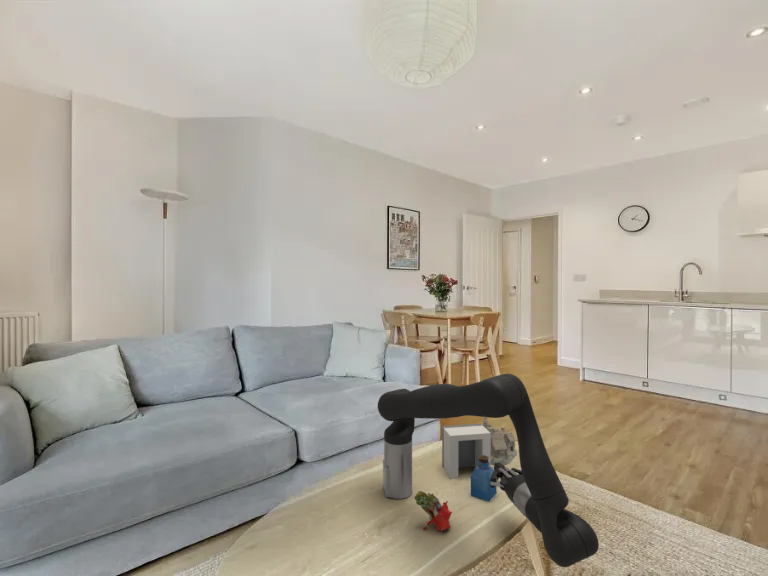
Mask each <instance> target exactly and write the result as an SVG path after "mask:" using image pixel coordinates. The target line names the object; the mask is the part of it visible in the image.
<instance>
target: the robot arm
mask: <svg viewBox="0 0 768 576" xmlns="http://www.w3.org/2000/svg"><path fill="white" fill-rule="evenodd" d="M377 411H378V414H379V415H380V416H381V417H382V419H384V420H385V421H388V422H391V423H390V425H389V426H387V427H386V428H385V429H384V432H383V460H382V478H383V479H382V488H383V493H384V496H385V498H391V499H395V500H397V499H398V500H400V499H402V500H403V499H406V498H409V497H410V496H411V495H412V494H413V435H414V432H415V422H416V419H426V420H427V419H432V420H433V419H437V420H438V419H439V420H441V419H450V418H451V419H452V418H460V417H466V416H470V417H471V416H472V417H482V418H483V417H486V418H490V419H499V418H504V417H507V416H508V417H509V419H510V420H511V422H512V425H513V427H514V430H515V433H516V438H517V444H518V454H519V455H518V456H519V465H520V468H521V469H519V468H515V467H512V468H511V469H510V468H509V467H506V466H505V465H503V464H501V463H500V462H499V463H495V465H493V470H494V471H493V473H492V475H491V477H490V487H491V488H495V486H496V487H497V488H500V490H502V491H503V492H504V493H505V494H506V496H507V498H508V499H509V500H510V502H511V503H512V504H513V505H514V507H516V508H517V510H518V511H519V512H520V513H521V514H522V515H523V516H524V517H525V518H527V520H528V521H529V522H530V523H531V524H532V525H533V526H534V527H535V528H536V530H537V531H539V532H540V533H541V536H542V537H541V538H542V541H543V546H544V548H545V551H546V554H547V555H548V556H549V558H550V559H551V560H552V562H553V563H554V564H555V565H557V566H558V567H560V568H569V567H571V566H573V565H575V564H577V563H579V562H581V561H583V560H586V559H588V558H590V557H592V556H594V555H596V554H597V552H598V551H599V546H600V543H599V538H598V535H597V533H596V531H595V530H594V529H593V527H592V526H591V525H590V524H589V523H588V522H587V521H586V520H585V519H584V518H582V517H581V516H580V515H578V514H576V513H574V512H572V511H569V510H568V509H566V508H567V507H568V505H569V503H570V501H569V497H568V495H567V492H566V490H565V489H564V486H563V484H562V482H561V480H560V478H559V476H558V474H557V471H556V470H555V469H556V468H554V467H555V466H554V465H553V463H552V460H551V458H550V455H549V453H548V451H547V449H546V445H545V443H544V440H543V437H542V434H541V431H540V427H539V424H538V421H537V419H536V416H535V413H534V410H533V406H532V403H531V399H530V397H529V394H528V391H527V388H526V386H525V384H524V383H523V381H522V380H521V379H520V378H519V377H518V376H517V375H514V374H512V373H503V374H499V375H495V376H492V377H488V378H486V379H483V380H480V381H478V382H474V383H470V384H466V385H465V384H464V385H455V384H452V383H438V384H432V385H427V386H424V387H419V388H416V389H413V390H409V389H407V388H399V389H398V388H397V389H395V390H391V391H390V390H389V391H387V392H384V393H383V394H382V395H381V396H380V397H379V399H378V401H377ZM499 479H500V481H499Z"/></svg>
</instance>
